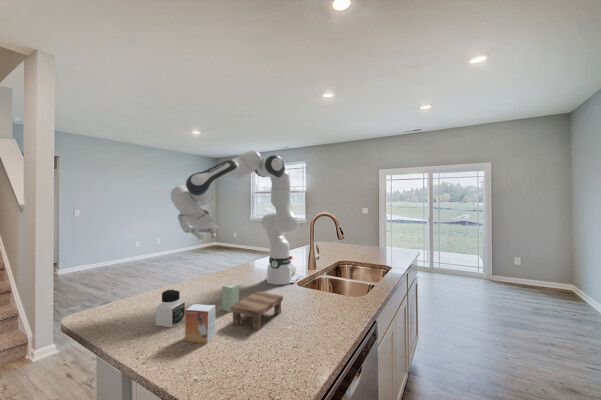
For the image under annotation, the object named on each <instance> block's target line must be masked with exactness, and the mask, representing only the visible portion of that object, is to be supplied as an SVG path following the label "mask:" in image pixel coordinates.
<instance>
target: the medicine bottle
mask: <svg viewBox="0 0 601 400" xmlns="http://www.w3.org/2000/svg"><path fill="white" fill-rule="evenodd" d="M180 292H181V291H180V290H179V289H176V288H174V289H173V288H172V289H171V288H170V289H166V290H164V291H162V292H161V303H160V304H159V305H157V306H156V307H155V326H157V327H165V328H174V327H176V326H177V325H179V324H180V323H181V322H182V321H185V320H186V309H185V308H186V306H185V305H186V304H185V301H184V300H180V297H181V296H180V294H181V293H180Z"/></svg>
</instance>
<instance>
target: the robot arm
mask: <svg viewBox="0 0 601 400" xmlns="http://www.w3.org/2000/svg"><path fill="white" fill-rule="evenodd" d="M253 172H254V173H255V174H256V175H257V176H259V177H261V178H268V177H269V178H270V181H271V182H270V183H271V187H270V188H271V189H270V193H271V194H270V203H271V204H272V206H274V209H275V211H276V212H272V213H271V212H270V213H267V214H265V215H263V216H262V219H261V226H262V228H263V229H264V231H265V232H266V234H267V237H268V241H269V258H268V261H269V262H268V263H269V264H268V265H267V268H266V269H267V271H266V276H265V279H264V280H265V281H266V283H267V284H270V285H274V286H280V285H281V286H282V285H291V284H290V283H294V284H295V283H296V282H297V281H298V280H299V279H300V277H301V275H300V274H298V273H297V269H296V266H295V265H294V264H292V261H291V260H293V256H292V255H290V242H289V241H288V240H287V239H286V237H285V234H293V233H294V234H295V233H296V232H297V231H298V229H299V227H300V220H299V218H298V216H296V214H295V213H294V211H293V207H292V203H291V178H290V174H289V172H288V171H286V167H285V163H284V160H283V159H282V158H281V157H280V156H278V155H276V154H274V155H268V156H264V157H263V156H261V154H260V152H258V151H257V150H255V149H251V150H248V151H246V152H243V153H241V154H239V155H238V156H236V157H234V158H233V159H228V160H224V161H223V162H220V163H218V164H216V165H214V166H212V167H209V168H208V169H206V170H203V171H199V172H196V173H192V174H191V175H190V176H188V178H187V179H186V181H185V185H183V184H180V185H177V186H175V187H174V188H173V189H172V190H171V191H170V199H171V202H172V203H173V205H174V207H175V209H176V210H177V211H178V212H179V213H180V214H178V215H177V220H178V223H179V225H180V228H181V229H182V231H183V232H184V233H185V234H192V235H193V236H195V237H196V238H197V240H198V241H200V240H202V239H204V235H203V234H201V233H209V234H211V235H210V238H211V239H212V240H214V239H216V238H217V237H218V236H217V234H216V230H218V229H219V228H218V227H219V226H218V224H217V222H216V221H215V219H214V218H213V217H212V216H211V213H210V211H208V210H206V209H204V208H203V206H205V205H207V204H209V203H211V202H212V200H213V191H212V187H211V185H212V184H213V183H214V182H216V181H217V180H220V179H221V178H223V177H225V176H230V177H231V178H232V179H234V180H239V181H240V180H242V179H244V178H246V177H247V176H249V175H251V174H252V173H253ZM299 276H300V277H299ZM297 279H298V280H297ZM296 280H297V281H296ZM295 281H296V282H295Z"/></svg>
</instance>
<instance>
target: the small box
mask: <svg viewBox="0 0 601 400" xmlns="http://www.w3.org/2000/svg"><path fill="white" fill-rule="evenodd" d="M184 321H185V323H184V324H185V325H184V327H185V328H184V329H185V331H184V342H189V343H190V342H191V343H201V344H207V345H208V343H209V342H210V341H211V340H212V339H213V338H214V337H215V336H216V304H200V303H199V304H197V303H193V304H192V305H191V306H189V307H188V308H186V309H185V320H184Z"/></svg>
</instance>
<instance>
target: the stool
mask: <svg viewBox="0 0 601 400" xmlns="http://www.w3.org/2000/svg"><path fill="white" fill-rule="evenodd" d="M283 298H284V297H283V295H281V294H275V293H270V292H262V291H257V292H255V293H253V294H251V295H249V296H247V297H245V298H244V299H241V300H239V302H238V303H236V304H234V305H233V306H231V312H230V313H232V325H233V326H237V327H238V326H239V325H241V322H242V321H241V320H242V319H241V318H242V315H244V316H250V317H252V319H253V320H252V330H253V331H257V332H258V331H260V330H261V329H262V316H263V315H264V314H266V313H267V312H269V311H270V310H271V309H273V308H274V309H273V311H274V312H273V313H274V315H278V316H279V315H280V314H282V313H281V312H282V302H283V301H284V299H283Z"/></svg>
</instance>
